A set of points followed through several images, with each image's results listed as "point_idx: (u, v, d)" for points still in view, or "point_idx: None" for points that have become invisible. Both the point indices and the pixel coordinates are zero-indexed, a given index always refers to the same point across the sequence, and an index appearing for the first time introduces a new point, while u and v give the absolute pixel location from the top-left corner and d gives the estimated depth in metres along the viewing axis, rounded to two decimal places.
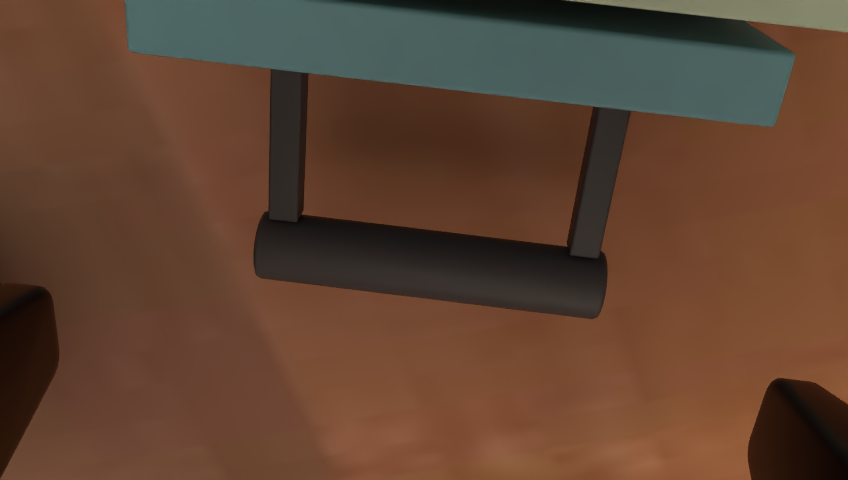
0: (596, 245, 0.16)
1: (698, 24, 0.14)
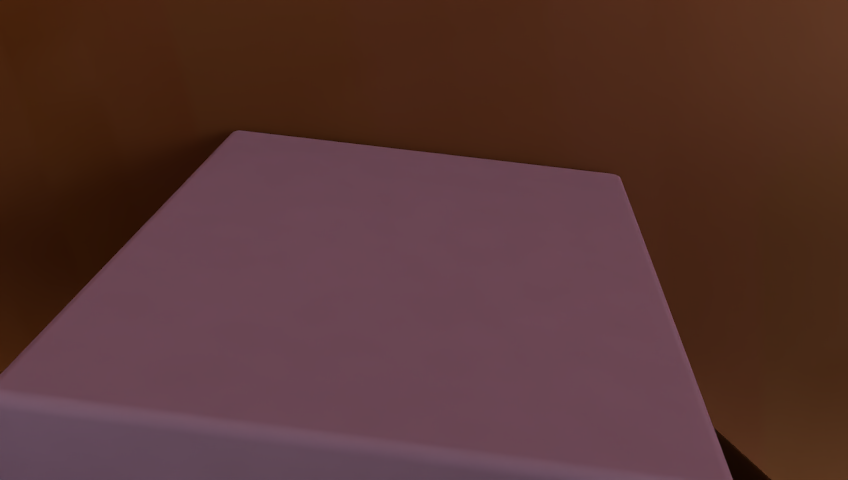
0: None
1: None
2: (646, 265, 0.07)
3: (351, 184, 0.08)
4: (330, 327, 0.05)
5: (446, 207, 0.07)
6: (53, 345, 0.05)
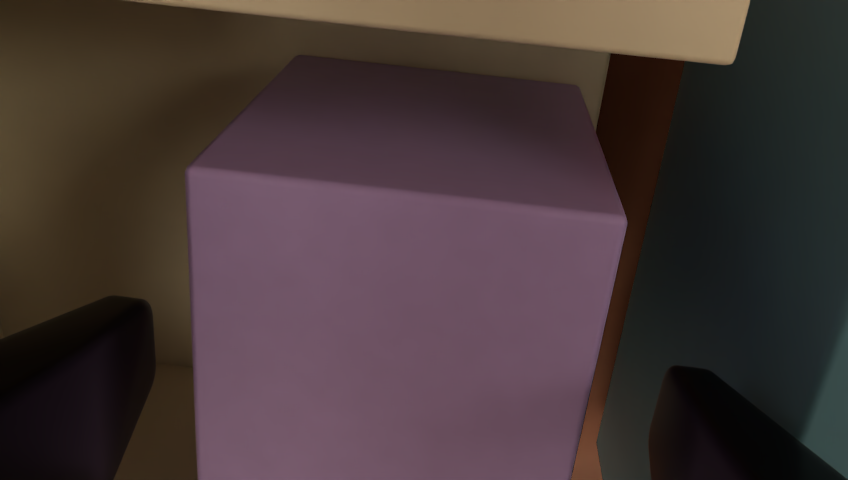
0: None
1: None
2: (589, 129, 0.10)
3: (386, 85, 0.11)
4: (383, 148, 0.08)
5: (454, 99, 0.10)
6: (217, 151, 0.08)
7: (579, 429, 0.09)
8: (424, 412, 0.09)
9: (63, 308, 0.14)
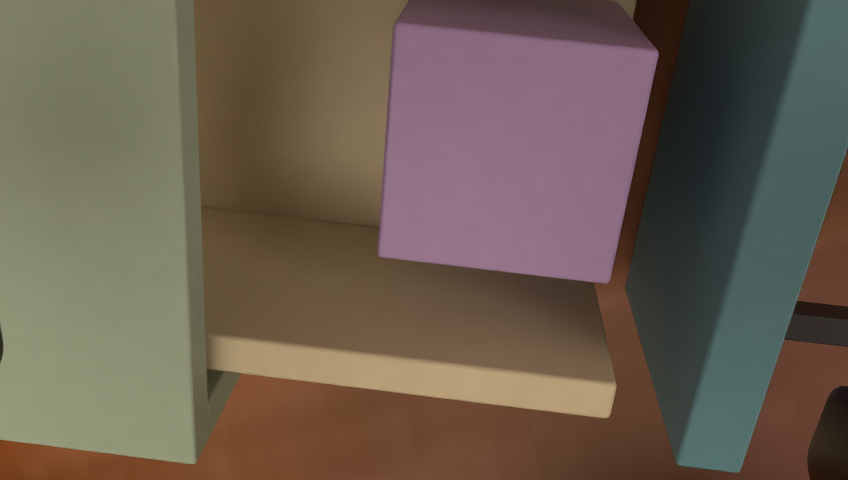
0: None
1: None
2: (630, 19, 0.15)
3: None
4: (504, 20, 0.14)
5: (537, 4, 0.16)
6: (407, 17, 0.13)
7: (626, 195, 0.14)
8: (530, 185, 0.14)
9: (236, 176, 0.19)
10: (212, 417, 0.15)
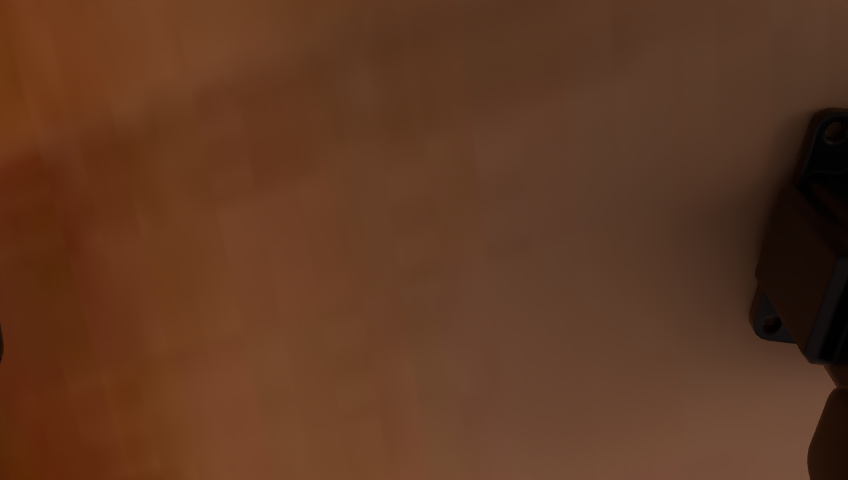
0: None
1: None
2: None
3: None
4: None
5: None
6: None
7: None
8: None
9: None
10: None
